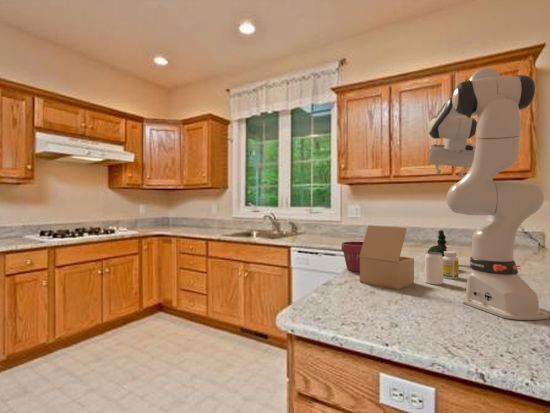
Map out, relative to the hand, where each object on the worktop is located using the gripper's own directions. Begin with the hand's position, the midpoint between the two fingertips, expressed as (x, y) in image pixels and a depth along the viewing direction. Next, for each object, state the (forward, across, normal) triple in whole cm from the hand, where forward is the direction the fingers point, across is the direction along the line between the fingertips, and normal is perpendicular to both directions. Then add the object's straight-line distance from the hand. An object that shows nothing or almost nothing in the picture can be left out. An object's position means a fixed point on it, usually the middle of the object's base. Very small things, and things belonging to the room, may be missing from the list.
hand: (449, 175), depth 154 cm
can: (+39, +3, -40) cm, 56 cm away
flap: (+23, -17, -49) cm, 57 cm away
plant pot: (+46, -31, -31) cm, 63 cm away
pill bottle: (+40, +8, -27) cm, 49 cm away
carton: (+39, -14, -49) cm, 64 cm away
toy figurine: (+46, +3, -3) cm, 46 cm away
